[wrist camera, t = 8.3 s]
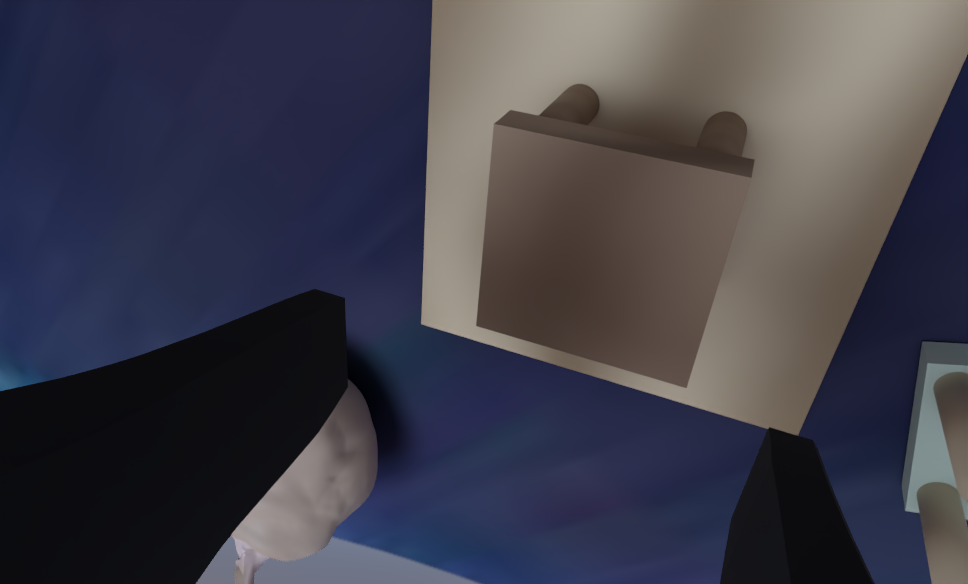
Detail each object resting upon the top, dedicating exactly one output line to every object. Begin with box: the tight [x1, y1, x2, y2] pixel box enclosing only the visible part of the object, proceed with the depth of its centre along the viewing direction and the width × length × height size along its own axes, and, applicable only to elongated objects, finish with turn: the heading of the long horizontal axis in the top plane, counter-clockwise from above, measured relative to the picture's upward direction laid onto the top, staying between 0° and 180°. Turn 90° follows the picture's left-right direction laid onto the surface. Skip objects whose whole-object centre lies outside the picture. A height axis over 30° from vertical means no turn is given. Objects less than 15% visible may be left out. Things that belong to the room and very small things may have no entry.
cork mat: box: [421, 0, 968, 436], centre depth 19 cm, size 12×12×1 cm
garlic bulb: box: [231, 379, 378, 584], centre depth 25 cm, size 7×6×8 cm
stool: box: [476, 84, 755, 388], centre depth 16 cm, size 5×5×4 cm
